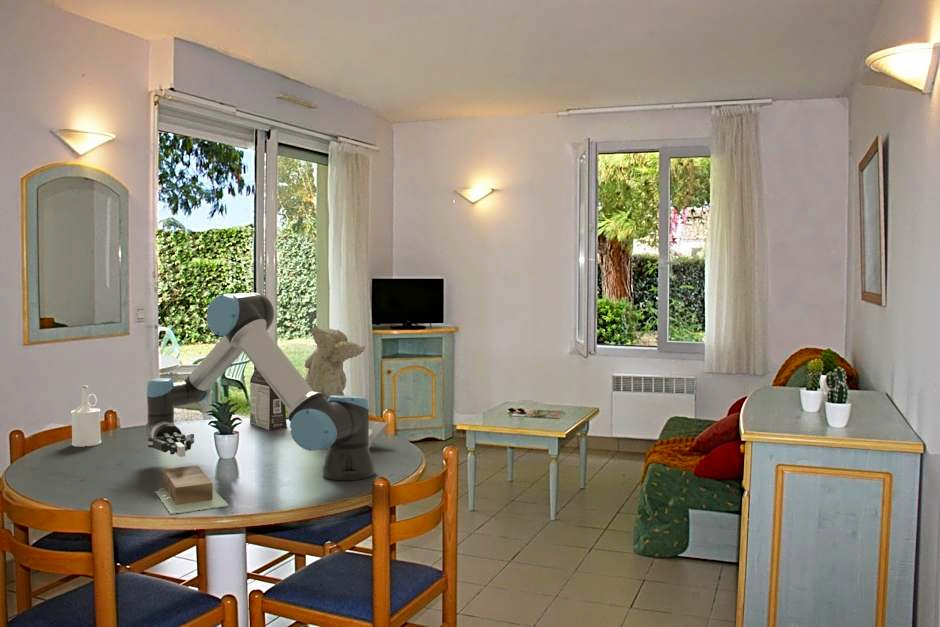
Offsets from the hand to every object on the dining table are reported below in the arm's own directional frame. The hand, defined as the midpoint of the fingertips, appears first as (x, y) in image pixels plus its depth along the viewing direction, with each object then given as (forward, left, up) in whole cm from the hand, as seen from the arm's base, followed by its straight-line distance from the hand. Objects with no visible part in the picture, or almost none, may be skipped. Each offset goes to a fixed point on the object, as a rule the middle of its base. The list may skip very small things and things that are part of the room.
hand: (182, 451), depth 223 cm
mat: (-9, +4, -11) cm, 15 cm away
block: (+3, -1, -7) cm, 8 cm away
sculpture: (+20, -79, -11) cm, 82 cm away
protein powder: (+50, -74, -11) cm, 90 cm away
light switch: (-5, -68, -11) cm, 69 cm away
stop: (0, 0, -11) cm, 11 cm away
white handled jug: (+75, -16, -11) cm, 78 cm away
